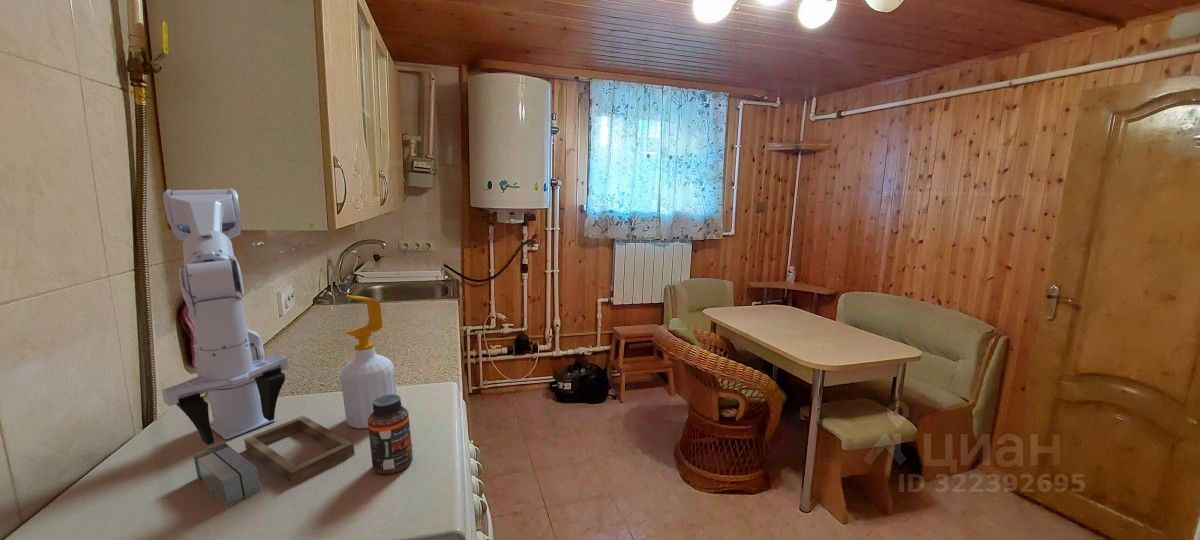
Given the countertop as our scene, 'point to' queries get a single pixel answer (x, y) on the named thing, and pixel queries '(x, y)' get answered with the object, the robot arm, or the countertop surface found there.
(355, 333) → the soap bottle
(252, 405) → the robot arm
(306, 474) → the brown rectangular open frame
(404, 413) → the supplement bottle
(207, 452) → the grooved grey block
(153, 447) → the countertop surface
